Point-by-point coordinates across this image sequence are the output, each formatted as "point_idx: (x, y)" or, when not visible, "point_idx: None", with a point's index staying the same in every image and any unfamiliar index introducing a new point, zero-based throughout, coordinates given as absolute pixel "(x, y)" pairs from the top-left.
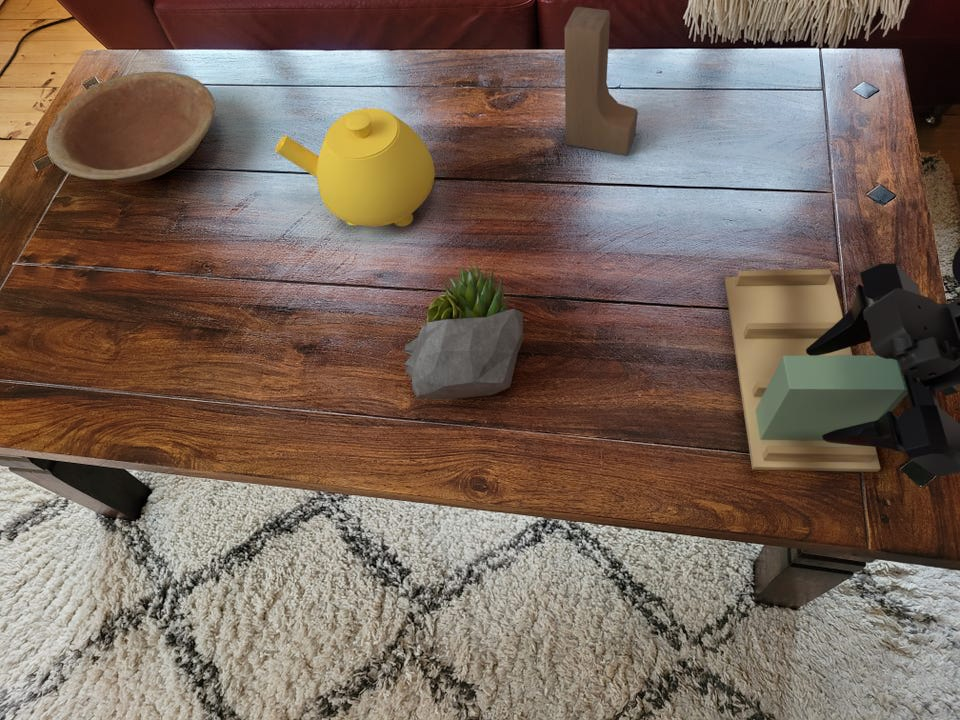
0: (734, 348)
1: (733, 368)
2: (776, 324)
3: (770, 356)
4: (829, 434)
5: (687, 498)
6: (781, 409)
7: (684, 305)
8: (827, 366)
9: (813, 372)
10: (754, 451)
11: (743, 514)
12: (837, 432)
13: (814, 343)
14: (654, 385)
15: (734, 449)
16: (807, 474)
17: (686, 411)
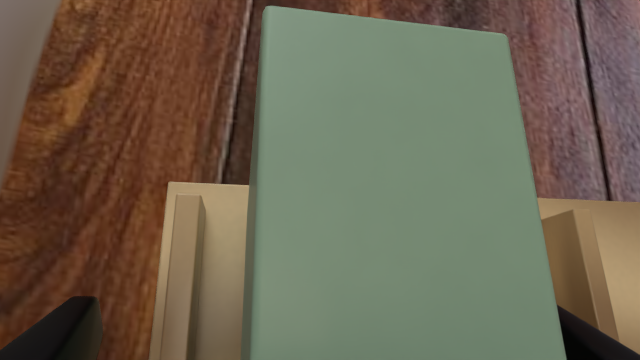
0: None
1: None
2: (603, 289)
3: None
4: (62, 318)
5: (109, 36)
6: (252, 147)
7: (597, 114)
8: (462, 293)
9: (399, 176)
10: (213, 190)
11: (46, 146)
12: (34, 354)
13: (593, 331)
14: None
15: (231, 156)
16: (144, 332)
17: None
